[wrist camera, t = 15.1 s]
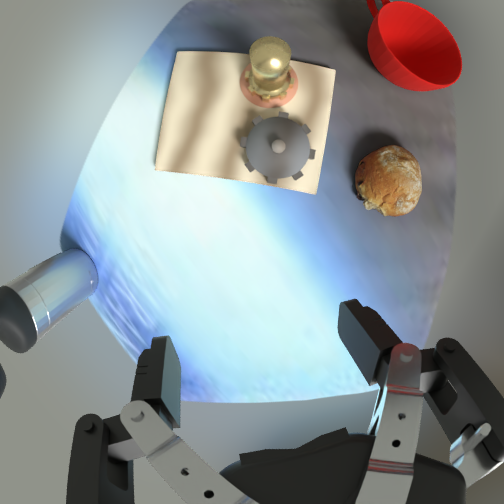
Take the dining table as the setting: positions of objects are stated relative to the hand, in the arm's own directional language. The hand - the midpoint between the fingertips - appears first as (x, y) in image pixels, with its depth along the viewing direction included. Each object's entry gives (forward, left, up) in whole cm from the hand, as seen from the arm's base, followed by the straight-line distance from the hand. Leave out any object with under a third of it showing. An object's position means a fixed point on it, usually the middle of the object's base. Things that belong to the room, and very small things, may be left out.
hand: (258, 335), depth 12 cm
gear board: (-5, +14, -27) cm, 31 cm away
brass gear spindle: (-2, +19, -25) cm, 32 cm away
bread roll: (+16, +9, -27) cm, 33 cm away
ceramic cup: (+14, +30, -27) cm, 43 cm away
